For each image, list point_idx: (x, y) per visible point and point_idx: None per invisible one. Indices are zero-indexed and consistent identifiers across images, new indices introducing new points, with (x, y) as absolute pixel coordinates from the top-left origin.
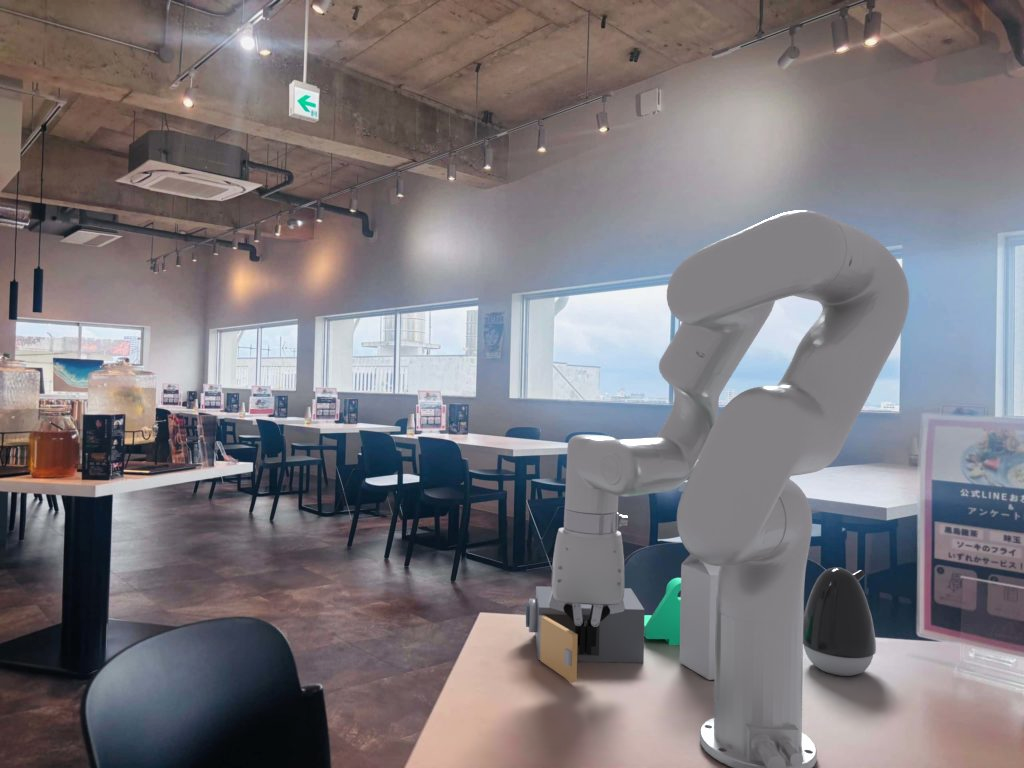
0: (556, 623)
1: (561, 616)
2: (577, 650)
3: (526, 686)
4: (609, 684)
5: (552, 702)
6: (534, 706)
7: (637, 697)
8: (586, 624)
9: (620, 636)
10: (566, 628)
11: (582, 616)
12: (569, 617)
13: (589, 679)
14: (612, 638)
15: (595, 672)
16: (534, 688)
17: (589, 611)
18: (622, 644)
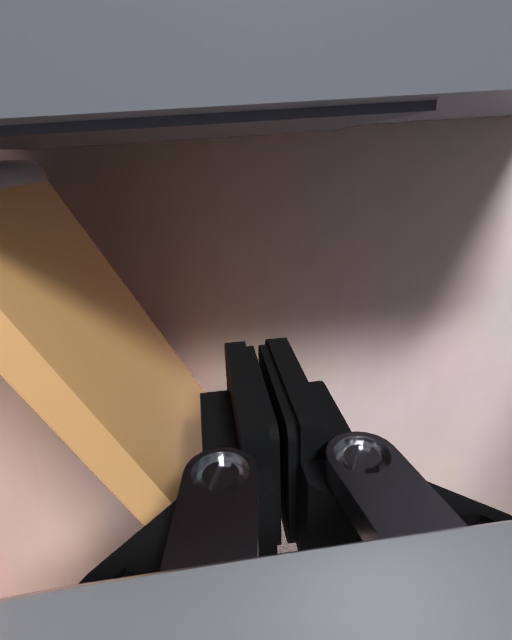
0: (52, 390)
1: (66, 133)
2: (219, 136)
3: (22, 433)
4: (336, 367)
5: (136, 526)
6: (82, 558)
7: (411, 449)
8: (288, 501)
9: (504, 108)
10: (143, 475)
11: (266, 513)
12: (147, 129)
13: (265, 335)
14: (446, 112)
15: (295, 259)
16: (57, 444)
17: (352, 100)
18: (486, 111)
